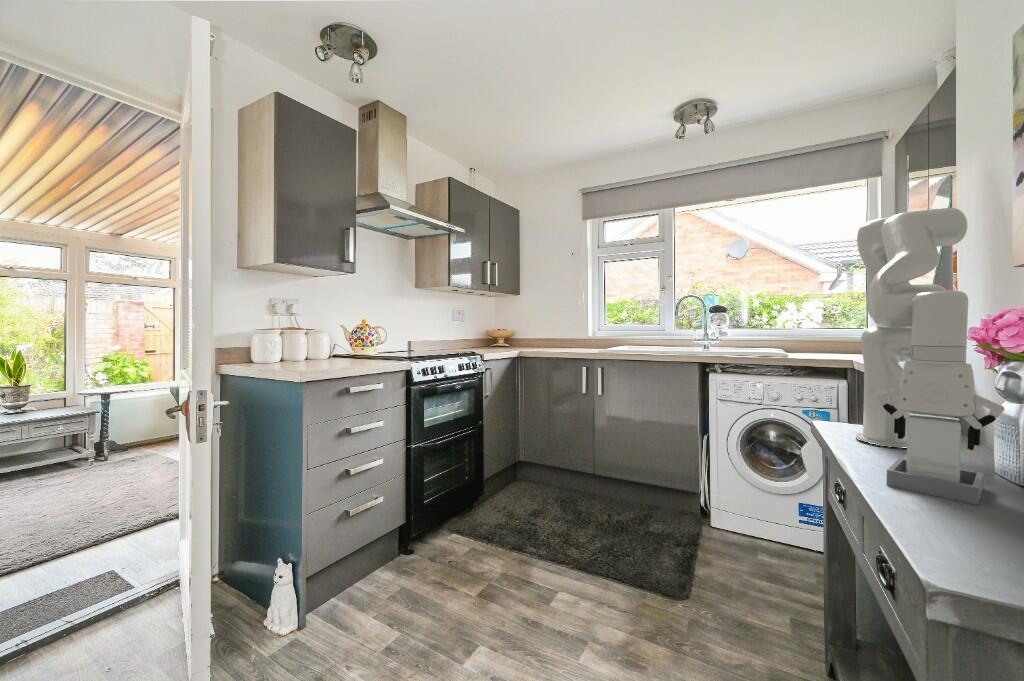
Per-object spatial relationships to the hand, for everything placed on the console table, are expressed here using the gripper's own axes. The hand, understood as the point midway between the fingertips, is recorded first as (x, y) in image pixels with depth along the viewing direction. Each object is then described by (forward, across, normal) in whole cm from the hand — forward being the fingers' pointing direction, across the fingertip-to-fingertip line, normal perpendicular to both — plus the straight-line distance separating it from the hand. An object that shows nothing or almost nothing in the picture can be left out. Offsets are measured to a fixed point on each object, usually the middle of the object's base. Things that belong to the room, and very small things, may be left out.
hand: (934, 442), depth 82 cm
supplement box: (+8, 0, 0) cm, 8 cm away
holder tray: (+8, 0, -1) cm, 9 cm away
